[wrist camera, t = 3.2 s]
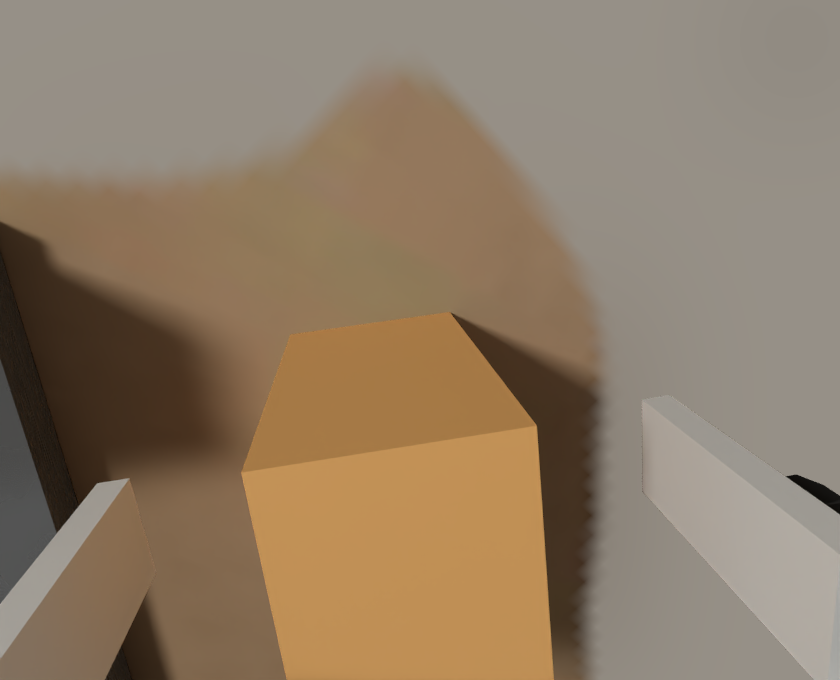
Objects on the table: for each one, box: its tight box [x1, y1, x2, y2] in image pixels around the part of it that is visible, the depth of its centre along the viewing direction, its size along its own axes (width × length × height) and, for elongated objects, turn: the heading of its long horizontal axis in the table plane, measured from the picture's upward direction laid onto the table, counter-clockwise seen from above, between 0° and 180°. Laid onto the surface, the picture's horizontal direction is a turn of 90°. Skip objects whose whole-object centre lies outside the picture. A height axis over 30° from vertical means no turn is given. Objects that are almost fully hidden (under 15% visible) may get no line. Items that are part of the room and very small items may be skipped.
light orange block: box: [241, 312, 554, 680], centre depth 15 cm, size 7×5×9 cm
